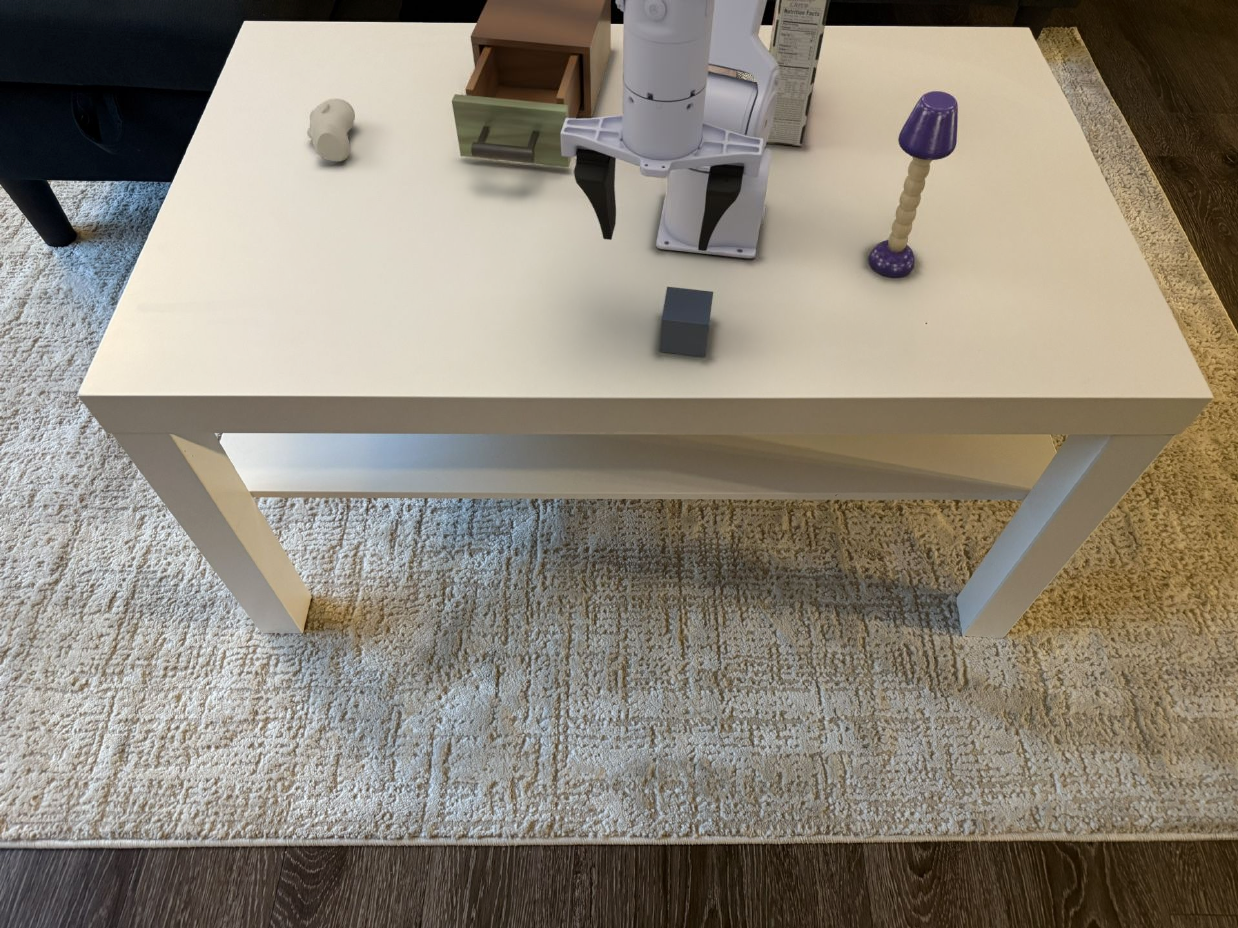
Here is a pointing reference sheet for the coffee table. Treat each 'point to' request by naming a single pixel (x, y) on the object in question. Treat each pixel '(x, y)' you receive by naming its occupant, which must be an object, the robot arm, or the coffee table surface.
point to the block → (685, 321)
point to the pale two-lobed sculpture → (331, 129)
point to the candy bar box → (795, 64)
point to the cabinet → (552, 34)
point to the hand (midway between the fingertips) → (656, 237)
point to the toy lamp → (917, 175)
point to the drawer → (519, 105)
